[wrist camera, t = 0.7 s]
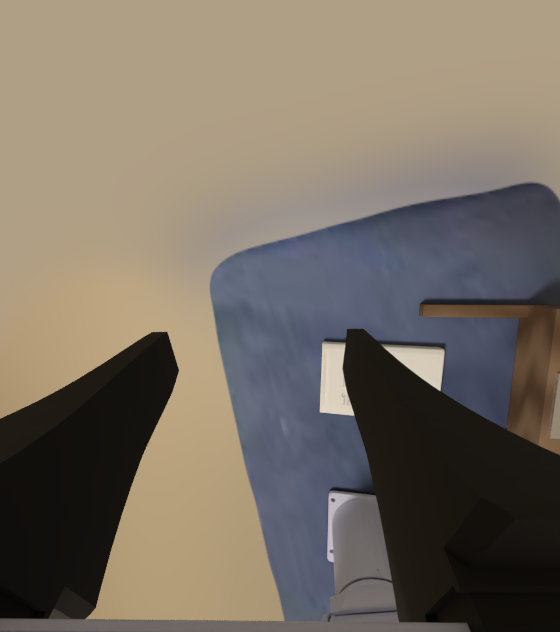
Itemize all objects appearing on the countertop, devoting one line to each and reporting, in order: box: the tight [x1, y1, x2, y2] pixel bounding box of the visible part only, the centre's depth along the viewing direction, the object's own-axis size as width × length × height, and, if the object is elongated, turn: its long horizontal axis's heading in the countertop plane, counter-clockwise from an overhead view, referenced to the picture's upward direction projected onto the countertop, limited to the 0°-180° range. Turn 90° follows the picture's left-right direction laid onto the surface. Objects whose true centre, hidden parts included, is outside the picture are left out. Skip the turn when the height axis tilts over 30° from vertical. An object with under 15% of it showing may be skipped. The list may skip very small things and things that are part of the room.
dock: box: [419, 304, 560, 455], centre depth 26 cm, size 17×12×4 cm
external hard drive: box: [320, 341, 444, 416], centre depth 29 cm, size 2×8×12 cm
